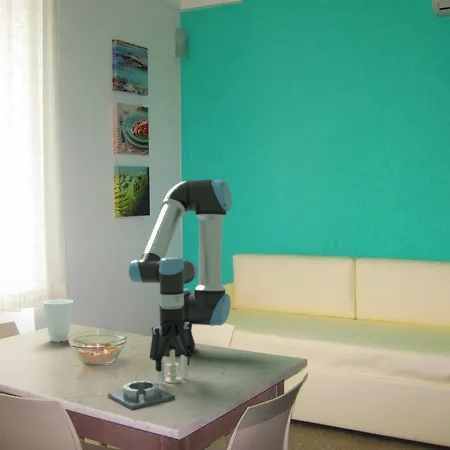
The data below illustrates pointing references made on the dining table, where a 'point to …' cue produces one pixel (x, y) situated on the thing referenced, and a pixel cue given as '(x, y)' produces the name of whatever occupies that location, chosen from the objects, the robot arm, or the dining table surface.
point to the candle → (172, 369)
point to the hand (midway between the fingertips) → (172, 378)
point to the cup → (58, 318)
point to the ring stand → (140, 394)
